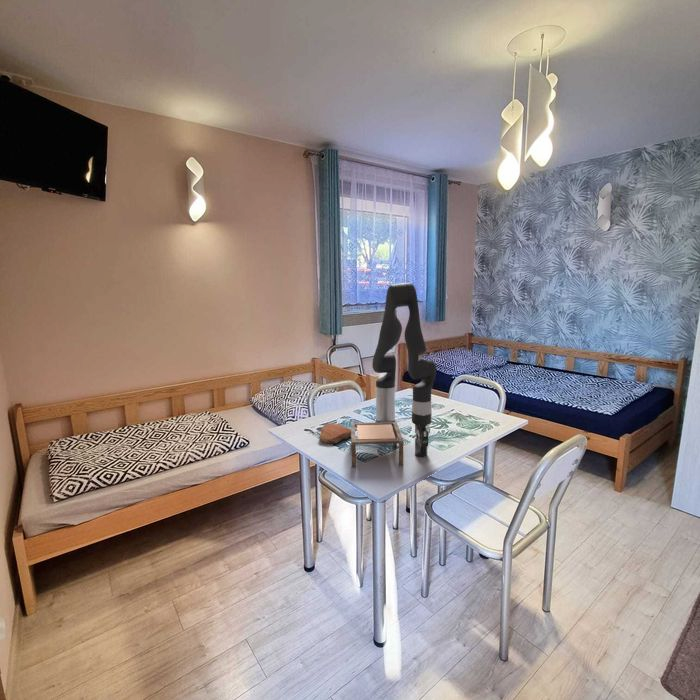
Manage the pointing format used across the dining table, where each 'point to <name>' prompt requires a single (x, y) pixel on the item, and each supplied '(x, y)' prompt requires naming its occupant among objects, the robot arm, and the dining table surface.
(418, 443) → the cylinder
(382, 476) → the dining table surface
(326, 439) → the reddish brown rock
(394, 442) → the trapdoor frame
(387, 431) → the trapdoor
